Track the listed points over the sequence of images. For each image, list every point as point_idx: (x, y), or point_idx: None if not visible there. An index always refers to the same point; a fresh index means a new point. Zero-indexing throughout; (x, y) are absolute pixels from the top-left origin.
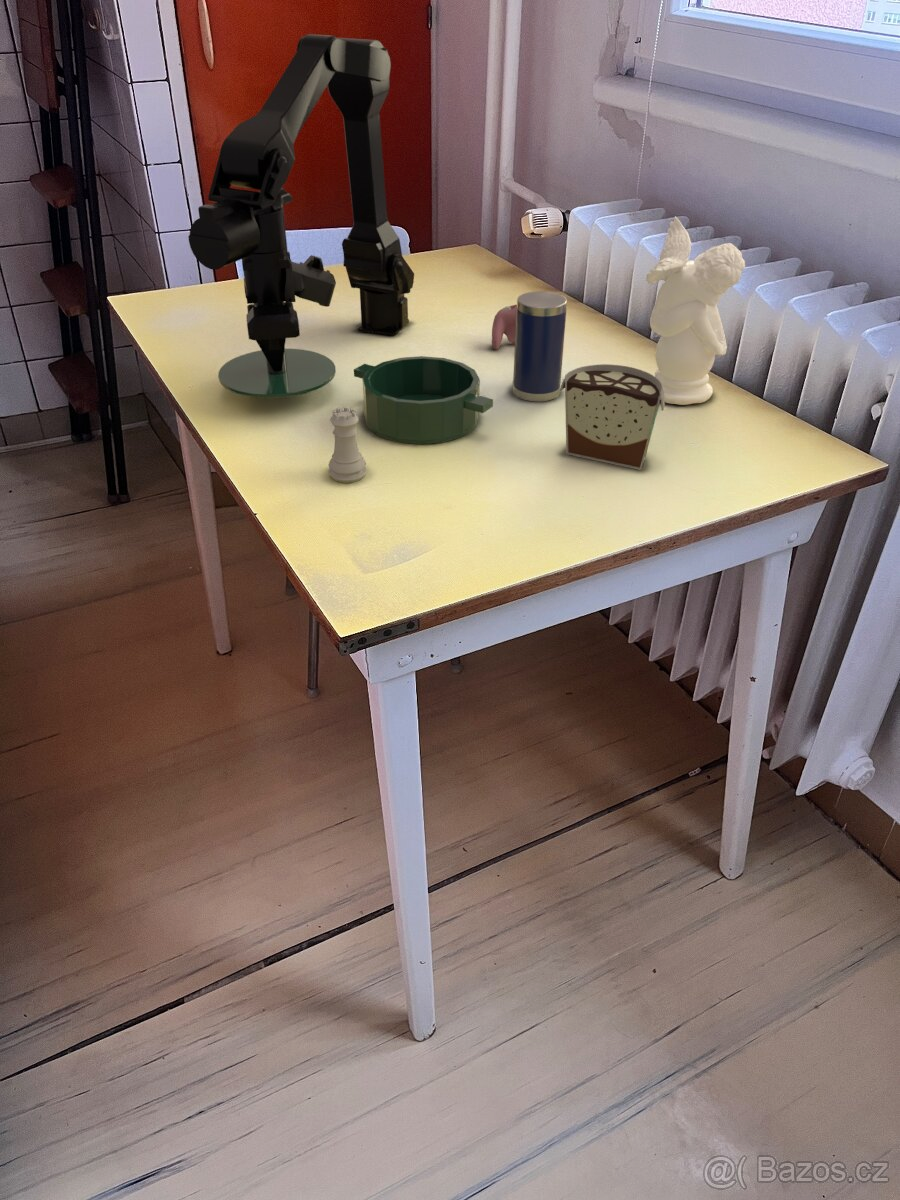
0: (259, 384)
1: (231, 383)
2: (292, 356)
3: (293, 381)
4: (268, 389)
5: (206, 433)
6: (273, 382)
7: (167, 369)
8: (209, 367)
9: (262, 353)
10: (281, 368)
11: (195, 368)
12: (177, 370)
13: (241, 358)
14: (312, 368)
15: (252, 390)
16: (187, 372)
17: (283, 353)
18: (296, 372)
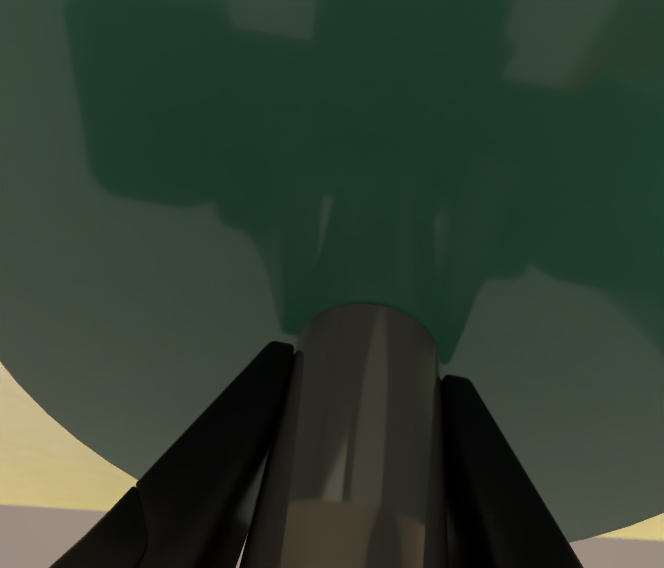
0: (544, 474)
1: None
2: (112, 200)
3: (647, 324)
4: (654, 461)
5: (623, 533)
6: (568, 420)
7: (37, 494)
8: (12, 409)
9: (43, 352)
10: (477, 394)
11: (25, 442)
12: (45, 479)
13: (122, 446)
14: (457, 105)
15: (604, 511)
16: (64, 465)
17: (557, 528)
18: (476, 259)
